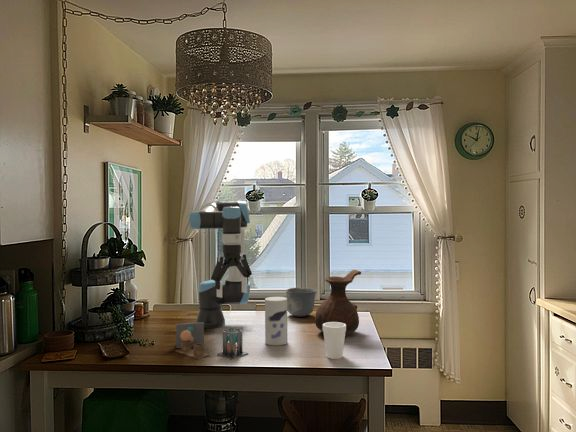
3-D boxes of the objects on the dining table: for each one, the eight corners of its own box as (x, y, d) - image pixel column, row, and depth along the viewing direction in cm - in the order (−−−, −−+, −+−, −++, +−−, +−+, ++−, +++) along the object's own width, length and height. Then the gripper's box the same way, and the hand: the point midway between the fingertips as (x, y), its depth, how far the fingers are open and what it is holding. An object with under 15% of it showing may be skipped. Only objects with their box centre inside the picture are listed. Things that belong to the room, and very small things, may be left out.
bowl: (323, 315, 270) (322, 288, 270) (307, 321, 256) (307, 293, 255) (296, 311, 280) (296, 286, 280) (279, 317, 265) (279, 290, 265)
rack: (175, 351, 203) (175, 340, 203) (187, 348, 208) (187, 337, 208) (198, 359, 192) (198, 347, 192) (210, 355, 197) (209, 344, 197)
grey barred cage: (217, 355, 198) (216, 330, 198) (233, 350, 204) (233, 326, 204) (231, 359, 192) (231, 334, 191) (248, 354, 198) (247, 330, 198)
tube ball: (224, 355, 198) (222, 343, 199) (233, 352, 201) (230, 341, 202) (231, 353, 195) (229, 342, 196) (240, 350, 198) (237, 339, 199)
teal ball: (223, 336, 198) (229, 332, 195) (232, 332, 201) (237, 329, 198) (228, 346, 196) (233, 343, 193) (237, 343, 200) (242, 339, 197)
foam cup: (321, 353, 199) (321, 322, 199) (343, 352, 200) (343, 321, 200) (325, 360, 189) (324, 327, 189) (348, 359, 190) (347, 327, 190)
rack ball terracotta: (178, 341, 203) (178, 330, 203) (187, 339, 206) (187, 328, 206) (184, 343, 200) (184, 332, 200) (193, 341, 203) (193, 330, 203)
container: (271, 346, 209) (270, 301, 209) (261, 341, 218) (261, 297, 217) (291, 343, 213) (291, 299, 213) (281, 338, 222) (281, 295, 222)
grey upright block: (176, 344, 213) (176, 322, 213) (203, 342, 216) (203, 320, 216) (176, 347, 209) (175, 325, 208) (204, 345, 211) (203, 323, 211)
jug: (356, 341, 217) (355, 275, 217) (310, 337, 224) (309, 273, 223) (363, 329, 238) (362, 269, 238) (320, 326, 244) (320, 268, 244)
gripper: (213, 246, 187) (214, 300, 188) (259, 242, 205) (260, 291, 206) (201, 245, 192) (202, 297, 193) (247, 241, 211) (248, 289, 211)
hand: (232, 294), depth 199 cm, fingers open, 13 cm apart
